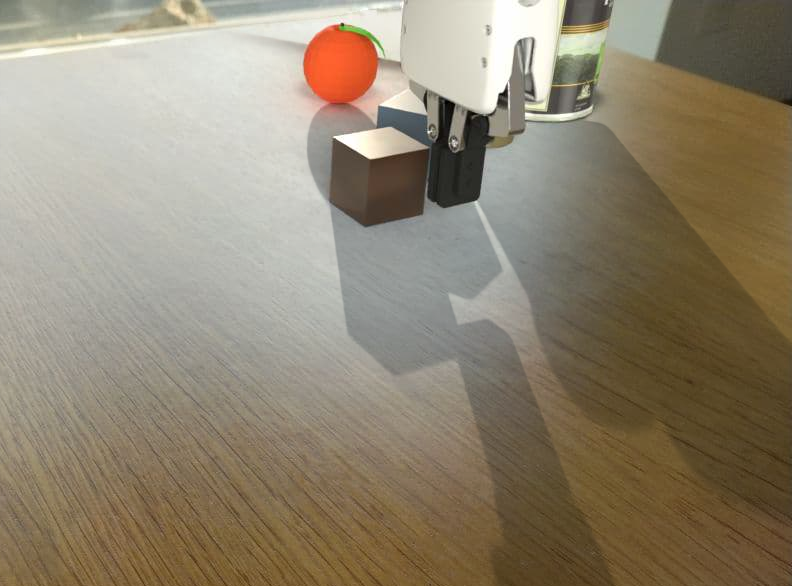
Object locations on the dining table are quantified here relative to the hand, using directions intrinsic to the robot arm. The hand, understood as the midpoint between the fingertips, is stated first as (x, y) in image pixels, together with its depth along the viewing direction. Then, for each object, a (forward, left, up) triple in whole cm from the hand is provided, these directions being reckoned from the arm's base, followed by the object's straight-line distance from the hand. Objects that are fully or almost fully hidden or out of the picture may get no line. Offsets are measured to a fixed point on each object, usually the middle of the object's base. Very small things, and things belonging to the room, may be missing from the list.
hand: (453, 199), depth 66 cm
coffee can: (+6, -32, -3) cm, 32 cm away
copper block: (+7, -2, -3) cm, 8 cm away
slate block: (+8, -12, -3) cm, 15 cm away
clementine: (+21, -22, -3) cm, 30 cm away
